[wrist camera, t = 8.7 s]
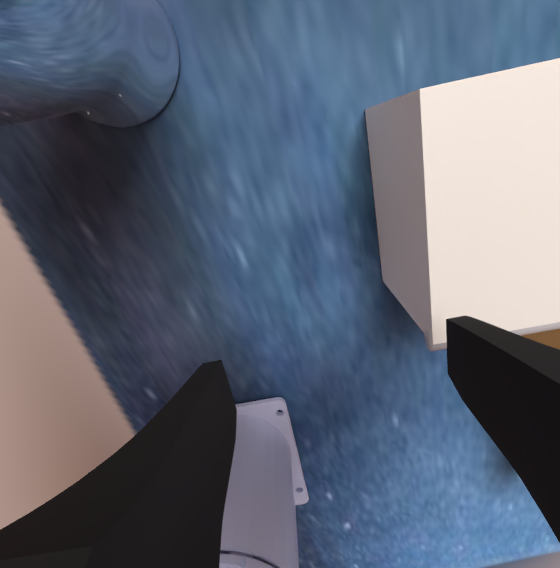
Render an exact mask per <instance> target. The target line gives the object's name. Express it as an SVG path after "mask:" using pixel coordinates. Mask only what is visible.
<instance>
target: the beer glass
mask: <svg viewBox="0 0 560 568" xmlns="http://www.w3.org/2000/svg"><path fill="white" fill-rule="evenodd" d="M178 73H179V50H178V44H177V39H176V36H175V32H174V29H173V27H172V24H171V22H170V20H169V18H168V16H167V14H166V12H165V11H164V9H163V7H162V6H161V5H160V3H159V2H158V1H157V0H0V127H4V126H12V125H20V124H27V123H32V122H36V121H41V120H45V119H50V118H54V117H58V116H62V115H66V114H70V113H74V112H76V113H78V114H80V115H82V116H84V117H86V118H87V119H90V120H92V121H94V122H97V123H100V124H103V125H107V126H112V127H131V126H135V125H139V124H142V123H144V122H146V121H148V120H150V119H151V118H153V117H154V116H156V115H157V114H158V113H159V112H160V111H161V110H162V109H163V108H164V107H165V106H166V104H167V103H168V101H169V100H170V98H171V96H172V94H173V92H174V89H175V86H176V83H177V79H178Z"/></svg>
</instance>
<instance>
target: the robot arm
mask: <svg viewBox="0 0 560 568" xmlns="http://www.w3.org/2000/svg"><path fill="white" fill-rule="evenodd" d="M446 336H447V364H448V375H449V376H450V378H451V380H452V382H453V384H454V386H455V388H456V389H457V391H458V393H459V394H460V396H461V398H462V400H463V401H464V403H465V404H466V405H467V407H468V408H469V409H470V411H471V412H472V413H473V415H474V416H475V418H476V419H477V420H478V422H479V423H480V424H481V426H482V427H483V428H484V429H485V431H486V432H487V433H488V435H489V436H490V437H491V439H492V440H493V441H494V443H495V444H496V445H497V447H498V448H499V449H500V451H501V452H502V453H503V454H504V456H505V457H506V458H507V460H508V461H509V462H510V464H511V465H512V467H513V468H514V469H515V471H516V472H517V474H518V475H519V477H520V478H521V480H522V481H523V483H524V484H525V486H526V488H527V489H528V491H529V492H530V494H531V496H532V497H533V499H534V501H535V502H536V504H537V505H538V507H539V509H540V510H541V512H542V514H543V515H544V517H545V519H546V520H547V522H548V524H549V525H550V527H551V529H552V531H553V532H554V534H555V536H556V537H557V539H558V541H559V542H560V350H559V349H556V348H553V347H550V346H547V345H544V344H542V343H539V342H536V341H533V340H531V339H528V338H525V337H523V336H520V335H517V334H515V333H512V332H510V331H507V330H504V329H502V328H499V327H497V326H494V325H492V324H489V323H486V322H484V321H481V320H478V319H476V318H473V317H469V316H466V315H465V316H460V317H454V318H449V319H446ZM278 410H282V412H277V411H278ZM299 487H300V488H299ZM308 500H309V497H308V491H307V487H306V483H305V479H304V475H303V471H302V467H301V462H300V458H299V454H298V450H297V446H296V442H295V437H294V433H293V429H292V425H291V421H290V417H289V413H288V408H287V404H286V401H285V400H284V399H283V398H281V397H275V398H269V399H263V400H258V401H252V402H246V403H241V404H235V403H234V399H233V396H232V393H231V389H230V386H229V383H228V380H227V376H226V373H225V370H224V367H223V363H222V360H219V361H213V362H208V363H203V364H202V365H201V366H200V367H199V368H198V369H197V370H196V372H195V373H194V374H193V375H192V376H191V377H190V378H189V380H188V381H187V382H186V383H185V384H184V385H183V386H182V388H181V389H180V390H179V391H178V392H177V393H176V394H175V395H174V397H173V398H172V399H171V400H170V401H169V402H168V403H167V404H166V405H165V406H164V407H163V408H162V409H161V410H160V411H159V413H158V414H157V415H156V416H155V417H154V418H153V419H152V420H151V421H150V422H149V423H148V424H147V425H146V426H145V427H144V428H143V429H142V430H141V431H140V432H138V433H137V434H136V435H135V436H134V437H133V438H132V439H131V440H130V441H128V442H127V443H126V444H125V445H124V446H123V447H121V448H120V449H119V450H118V451H117V452H116V453H114V455H112V456H111V457H109V458H108V459H107V460H105V461H104V462H103V463H102V464H100V465H99V466H97V467H96V468H95V469H94V470H92V471H91V472H90V473H88V474H87V475H86V476H84V477H83V478H82V479H80V480H79V481H77V482H76V483H75V484H73V485H72V486H70V487H69V488H67V489H66V490H64V491H63V492H61V493H60V494H58V495H57V496H55V497H54V498H52V499H51V500H49V501H48V502H46V503H45V504H43V505H41V506H40V507H38V508H37V509H35V510H34V511H32V512H30V513H29V514H27V515H25V516H23V517H22V518H20V519H18V520H16V521H15V522H13V523H11V524H10V525H8V526H6V527H4V528H3V529H1V530H0V568H299V559H298V542H297V525H296V508H295V505H301V504H305V503H307V502H308Z"/></svg>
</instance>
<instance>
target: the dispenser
mask: <svg viewBox="0 0 560 568" xmlns="http://www.w3.org/2000/svg"><path fill="white" fill-rule="evenodd" d="M365 115H366V125H367V135H368V144H369V154H370V164H371V173H372V183H373V192H374V202H375V212H376V221H377V231H378V241H379V250H380V260H381V270H382V279H383V282H384V283H385V284H386V286H387V287H388V288H389V289H390V291H391V292H392V293H393V295H394V296H395V297H396V298H397V300H398V301H399V302H400V303H401V305H402V306H403V307H404V308H405V310H406V311H407V312H408V314H409V315H410V316H411V317H412V319H413V320H414V321H415V322H416V324H417V325H418V326H419V327H420V329H421V330H422V331H423V333H424V339H425V343H426V346H427V348H428V350H429V351H437V350H442V349H447V336H446V319H449V318H454V317H460V316H465V315H466V316H469V317H473V318H476V319H478V320H481V321H484V322H486V323H489V324H492V325H494V326H497V327H499V328H502V329H504V330H507V331H510V332H512V333H515V334H517V335H520V336H521V335H527V334H532V333H538V332H544V331H549V330H555V329H560V58H558V59H554V60H549V61H545V62H540V63H535V64H531V65H526V66H522V67H517V68H513V69H508V70H504V71H499V72H495V73H490V74H486V75H481V76H476V77H472V78H467V79H463V80H458V81H454V82H449V83H445V84H440V85H436V86H431V87H427V88H422V89H418V90H416V91H413V92H410V93H408V94H405V95H402V96H400V97H397V98H394V99H392V100H389V101H386V102H384V103H381V104H378V105H376V106H373V107H370V108H367V109H365Z"/></svg>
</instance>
